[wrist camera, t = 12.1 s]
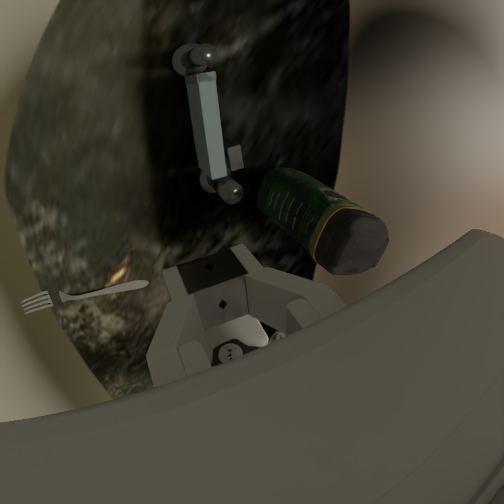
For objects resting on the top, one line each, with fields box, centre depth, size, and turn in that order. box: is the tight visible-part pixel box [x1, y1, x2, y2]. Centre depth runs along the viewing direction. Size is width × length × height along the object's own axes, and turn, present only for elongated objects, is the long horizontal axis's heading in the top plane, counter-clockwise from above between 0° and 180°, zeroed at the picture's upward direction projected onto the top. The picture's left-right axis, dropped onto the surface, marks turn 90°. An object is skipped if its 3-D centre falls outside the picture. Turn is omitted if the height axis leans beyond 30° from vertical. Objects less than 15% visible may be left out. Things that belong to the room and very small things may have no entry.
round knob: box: [172, 43, 217, 76], centre depth 25 cm, size 4×4×6 cm
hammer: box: [199, 139, 244, 204], centre depth 34 cm, size 7×5×6 cm
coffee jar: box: [257, 167, 389, 275], centre depth 37 cm, size 10×8×19 cm
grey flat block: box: [184, 71, 227, 180], centre depth 30 cm, size 12×2×6 cm, turn 5°
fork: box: [20, 280, 149, 314], centre depth 37 cm, size 3×24×2 cm, turn 83°
